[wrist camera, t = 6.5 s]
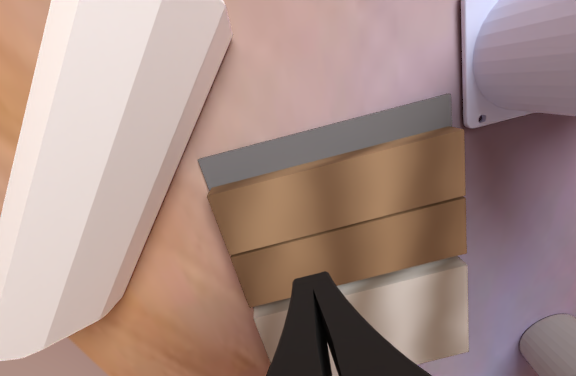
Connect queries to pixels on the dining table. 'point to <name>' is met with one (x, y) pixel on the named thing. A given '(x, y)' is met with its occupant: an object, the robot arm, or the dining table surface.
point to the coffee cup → (551, 346)
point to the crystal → (98, 156)
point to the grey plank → (398, 310)
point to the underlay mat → (327, 141)
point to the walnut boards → (346, 214)
